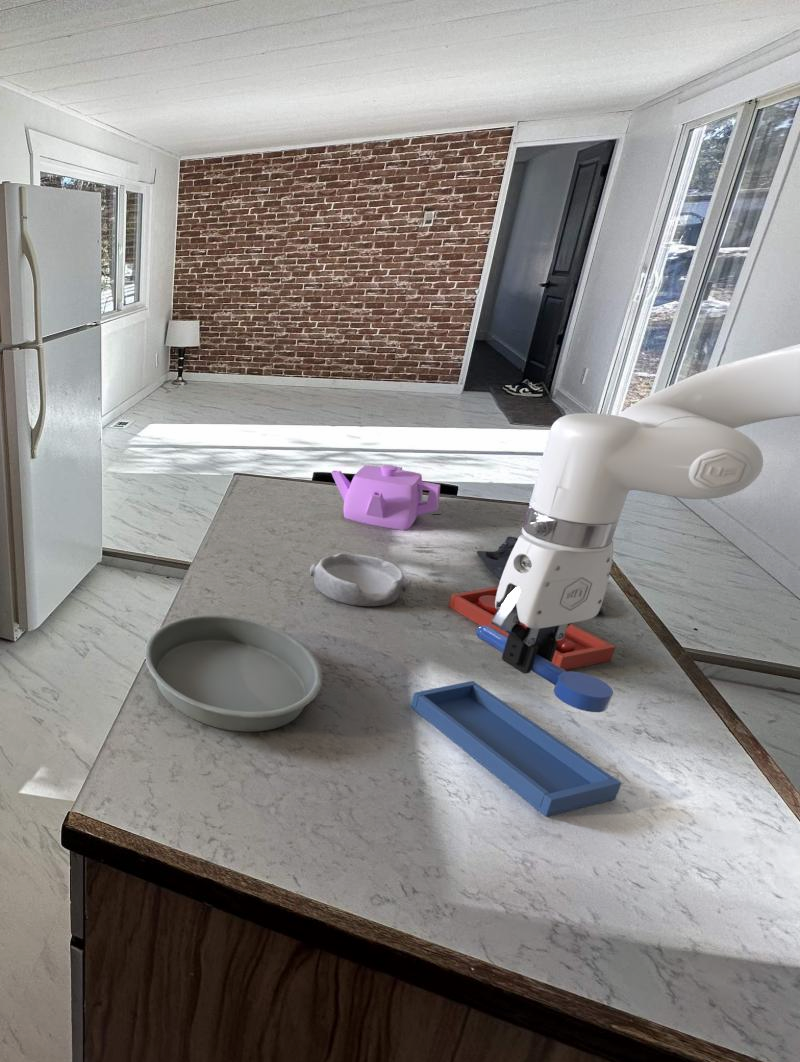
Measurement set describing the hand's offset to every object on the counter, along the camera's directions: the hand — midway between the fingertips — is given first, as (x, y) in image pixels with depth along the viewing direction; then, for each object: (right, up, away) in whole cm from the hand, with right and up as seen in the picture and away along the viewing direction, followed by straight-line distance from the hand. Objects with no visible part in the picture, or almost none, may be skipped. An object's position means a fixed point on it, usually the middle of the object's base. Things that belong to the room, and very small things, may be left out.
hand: (525, 663), depth 77 cm
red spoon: (+21, -1, +26) cm, 34 cm away
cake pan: (-30, -8, +18) cm, 36 cm away
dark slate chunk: (+35, +5, +40) cm, 53 cm away
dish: (+2, +3, +41) cm, 41 cm away
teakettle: (+24, +16, +70) cm, 76 cm away
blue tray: (0, -12, +4) cm, 12 cm away
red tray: (+21, -1, +26) cm, 34 cm away
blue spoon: (0, 0, -1) cm, 1 cm away
